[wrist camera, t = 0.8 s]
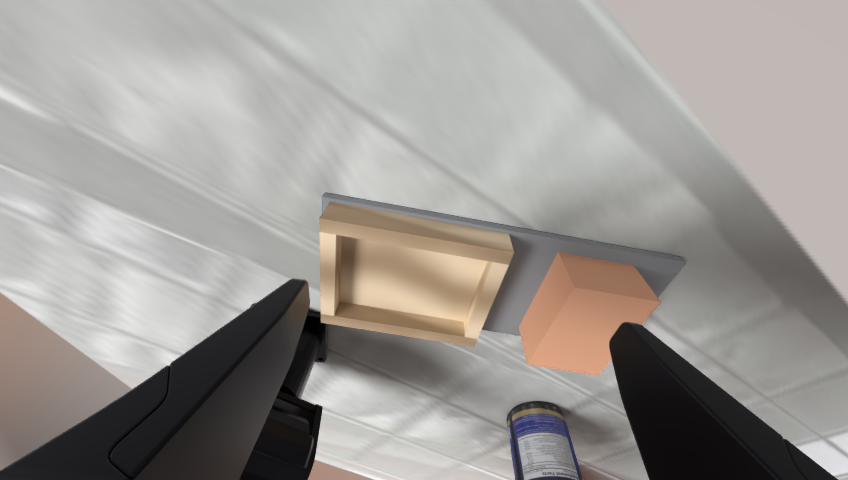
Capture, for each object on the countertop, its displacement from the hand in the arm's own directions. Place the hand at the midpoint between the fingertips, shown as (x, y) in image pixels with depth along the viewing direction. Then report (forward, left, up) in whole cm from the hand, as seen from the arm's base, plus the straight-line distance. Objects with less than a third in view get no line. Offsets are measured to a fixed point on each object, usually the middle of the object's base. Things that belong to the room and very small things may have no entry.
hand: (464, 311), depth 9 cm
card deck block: (-9, -11, -12) cm, 19 cm away
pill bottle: (-27, -15, -13) cm, 34 cm away
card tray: (-9, +1, -12) cm, 15 cm away
